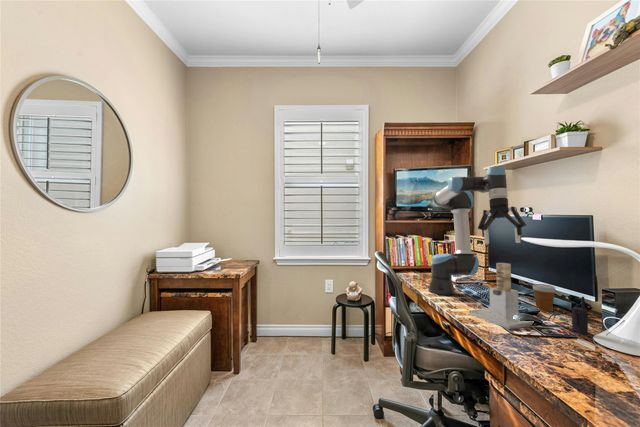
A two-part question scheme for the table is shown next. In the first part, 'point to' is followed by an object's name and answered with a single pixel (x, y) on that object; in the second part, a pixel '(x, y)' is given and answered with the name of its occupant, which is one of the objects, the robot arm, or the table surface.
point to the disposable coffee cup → (544, 296)
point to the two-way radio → (580, 318)
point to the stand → (502, 309)
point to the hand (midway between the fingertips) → (501, 243)
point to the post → (503, 276)
